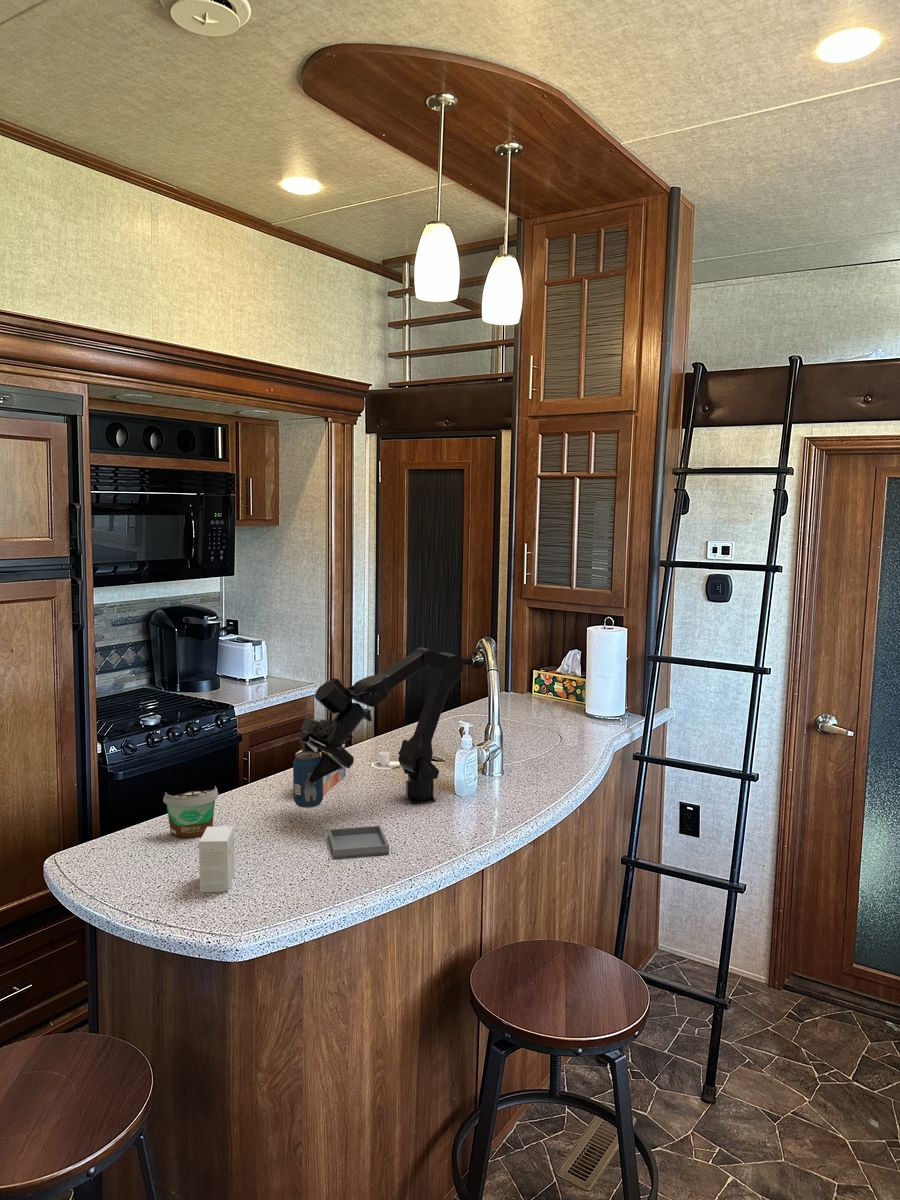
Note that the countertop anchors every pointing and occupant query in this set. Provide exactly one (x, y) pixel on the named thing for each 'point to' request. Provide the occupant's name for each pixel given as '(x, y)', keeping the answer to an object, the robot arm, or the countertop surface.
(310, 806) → the soda can
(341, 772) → the stack of blocks
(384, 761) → the teacup and saucer
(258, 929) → the countertop surface
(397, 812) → the countertop surface
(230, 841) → the small box
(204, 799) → the food container
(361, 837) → the tray
